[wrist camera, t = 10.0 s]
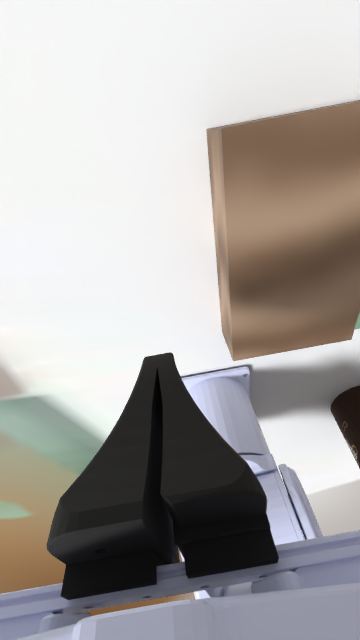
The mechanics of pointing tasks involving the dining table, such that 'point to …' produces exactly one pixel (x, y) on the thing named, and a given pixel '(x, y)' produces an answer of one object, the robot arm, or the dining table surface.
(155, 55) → the dining table surface
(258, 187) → the brown flat block
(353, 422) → the coffee mug
